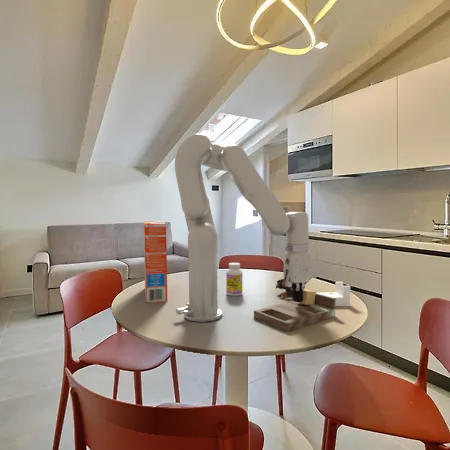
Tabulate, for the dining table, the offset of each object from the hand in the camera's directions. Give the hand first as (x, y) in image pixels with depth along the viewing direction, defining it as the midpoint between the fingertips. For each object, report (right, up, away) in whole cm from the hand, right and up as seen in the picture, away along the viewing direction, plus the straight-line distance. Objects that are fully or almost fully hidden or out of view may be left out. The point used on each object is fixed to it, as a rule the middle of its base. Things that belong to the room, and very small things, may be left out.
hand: (297, 301), depth 118 cm
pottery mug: (+2, -3, +22) cm, 23 cm away
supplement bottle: (-21, -3, +25) cm, 33 cm away
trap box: (-2, -5, -4) cm, 6 cm away
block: (+3, -1, +2) cm, 4 cm away
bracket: (+14, -4, +12) cm, 19 cm away
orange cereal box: (-54, -3, +25) cm, 60 cm away
